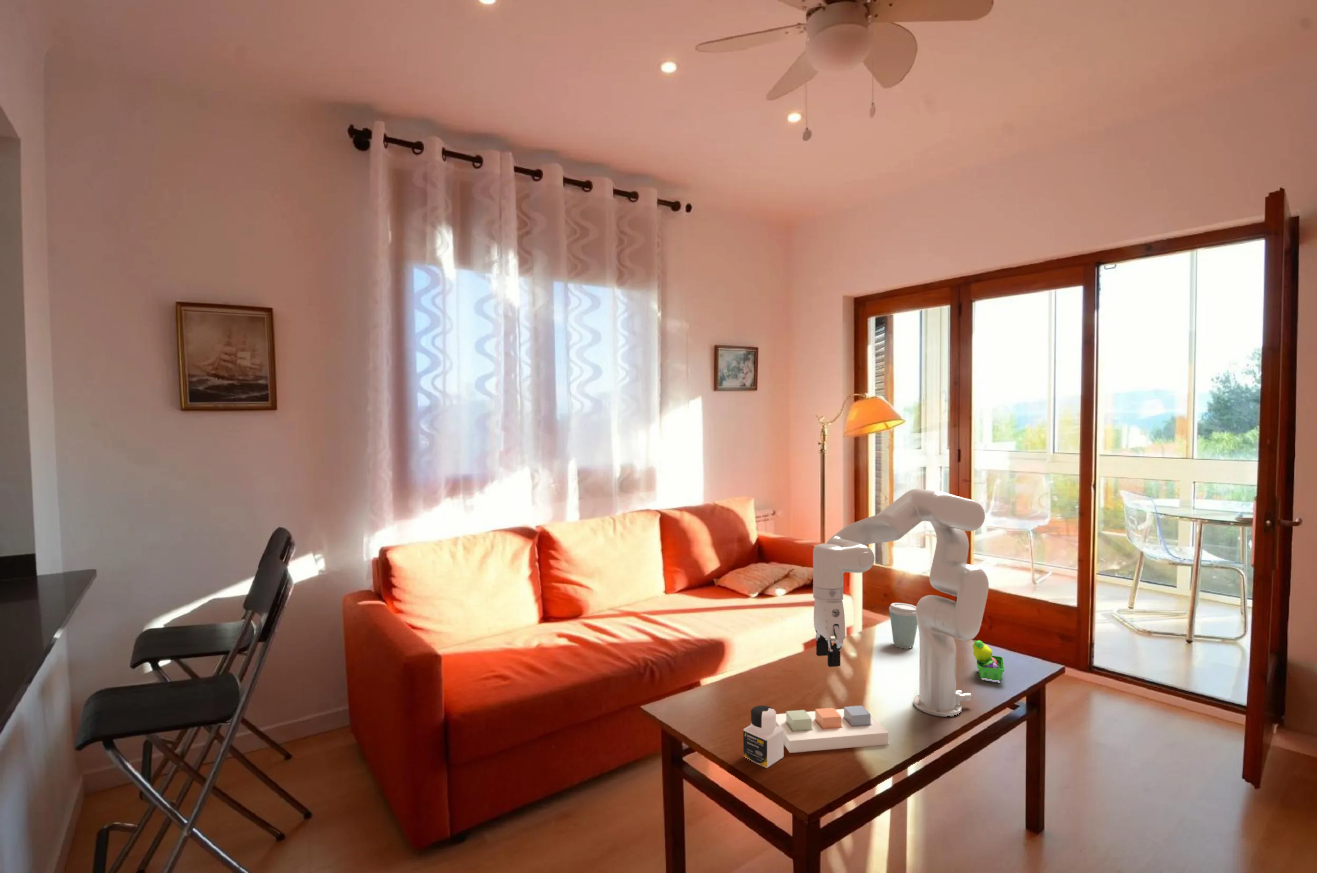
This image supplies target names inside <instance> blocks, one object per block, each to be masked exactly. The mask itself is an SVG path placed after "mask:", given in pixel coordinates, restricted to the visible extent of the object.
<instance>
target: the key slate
mask: <svg viewBox="0 0 1317 873" xmlns="http://www.w3.org/2000/svg"><path fill="white" fill-rule="evenodd" d="M843 709H844V719H845V720H846V721H847V722H848V723H849V725H850V726H851V727H858V726H870V725H871V716H872V715H871V713H870V712H869V711H868V710H867V709H866V708H865V707H864V706H863V705H850V706H843Z"/></svg>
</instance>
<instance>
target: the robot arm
mask: <svg viewBox="0 0 1317 873" xmlns="http://www.w3.org/2000/svg"><path fill="white" fill-rule="evenodd" d="M985 519H986V514H985V510H984V508H983V506H982V505H981V504H980V503H979V502H977V500H973V499H970V498H966V497H962V496H957V495H954V494H950V493H947V492H943V491H939V490H931V489H923V488H922V489H921V488H913V489H910V490H908V491H906V492H905V493H904V494H902V495H901V496H899V497H898V498H897V499H895V500H894V501H893V502H892V503H891V504H890V505H888V506H887V507H886V508H884V509H883V510H881V511H880V512H878V513H877V514H875V515H872V516H868V517H866V518H864V519H860V520H858V521H855V522H851V523H850V524H848V525H846V526H845V527H843V528H842V529H840V530H838V531H837V532H836V533H834V534H833V535H832V536H831V537H830V538H829V539H828V541H827V542H826V543H820V544H817V545H815V546H814V547H813V550H812V551H813V552H812V569H813V570H812V573H813V574H812V576H813V578H812V580H813V582H812V584H813V585H812V594H813V595H812V598H813V599H814V601H813V603H814V604H813V628H814V630H815V633H816V634H815V640H816V642H815V647H816V648H815V650H816V651H815V654H816V656H817V657H823V656H827V666H828V667H829V668H833V667H841V652H842V648H843V647H842V646H843V644H844V640H845V639H846V619H845V616H846V615H845V608H844V602H843V600H844V574H845V573H854V574H855V573H856V574H860V573H861V574H862V573H866V572H867V571H869V570H871V568H872V567H873V566H874V563H875V553H874V552H873V550H872V549H871V548H870V547H869V546H868V545H871V544H881V543H890V542H896V541H899V540H900V539H902V538H903V537H905V535H906V534H908V533H909V532H910V531H912V530H913V529H914V528H915V527H917V526H918V525H919V524H920V523H922V522H930V524H931V526H932V527H933V530H934V532H935V537H936V544H935V550H934V554H933V558H932V562H931V567H930V570H929V571H930V573H929V583H930V585H931V587H932V588H933V589H935V590H937V591H939V592H941V593H944V594H947V595H950V596H954V597H956V601H955V600H952V599H950V598H947V597H943V596H939V595H934V594H929V595H928V594H927V595H925V596H922V597H921V598H920V599H919V600H918V602H917V604H916V618H917V623H918V625H917V629H918V632H919V633H918V637H919V680H918V681H919V684H918V685H919V692H918V693H919V694H917V695H916V696H914V697H913V706H915V708H916V709H918V710H919V711H921V712H924V713H925V714H929V715H931V716H935V717H943V718H944V717H947V716H950V717H955V716H954V715H956V716H958V715H960V714H961V713H962V712H963V710H962V709H963V706H962V705H961V702H963V701H966V702H967V701H972V700H973V696H972V694H971V693H970V692H965V693H963V691H962V690H956V689H957V645H956V641H955V639H956V640H960V641H963V642H964V641H965V642H968V641H972V640H973V639H974V638H975V637H977V635H978V634H979V632H980V629H981V627H982V622H983V617H984V614H985V608H986V604H987V600H988V594H989V589H990V588H989V587H990V586H989V585H990V583H989V578H988V576H987V574H986V572H985V571H984V570H983V568H980V567H978V566H976V565H972V564H969V563H967V562H968V556H969V549H970V542H969V537H968V535H967V533H966V532H974V531H977V530H978V529H980V528H981V527H982V526H983V524H984V522H985ZM832 637H833V638H832ZM960 712H961V713H960ZM959 713H960V714H959ZM957 714H958V715H957Z"/></svg>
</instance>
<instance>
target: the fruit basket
mask: <svg viewBox="0 0 1317 873" xmlns="http://www.w3.org/2000/svg"><path fill="white" fill-rule="evenodd" d="M973 642H974V643H972V650H973V652H972V653H973V656H974V658H975V659H976V666H977V669H978V672H979V676H980V677H979V678H980V679H981V678H987V679H992V680H999V681H1000V680H1001V681H1002V677H1003V673H1004V671H1005V664H1004V663H1005V662H1004V657H1002V656H998V655H993V650H992V649H991V648H990V647H989V646H988V645H987V644H985V643H984V642H983V641H982V640H974V641H973ZM1001 681H1000V682H1001Z"/></svg>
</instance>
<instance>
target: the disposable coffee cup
mask: <svg viewBox="0 0 1317 873" xmlns="http://www.w3.org/2000/svg"><path fill="white" fill-rule="evenodd" d="M916 606H917V605H916ZM916 606H915V605H913V604H909V603H903V602H893V603H891V604H890V606H889V607H888V611H889V617H890V625H891V633H892V642H893V644H894V646H895V647H897V648H898V647H901V648H900V649H902V648H910V647H912V648H913V647H914V644H915V641H916V640H915V639H916V634H917V631H918V630H917V629H918V623H917V618H916Z"/></svg>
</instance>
